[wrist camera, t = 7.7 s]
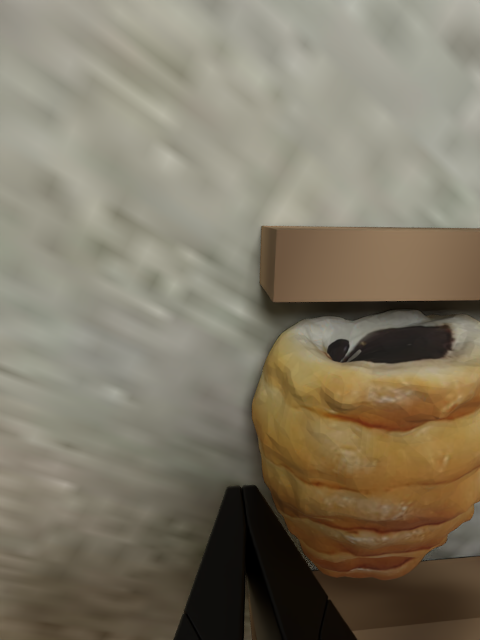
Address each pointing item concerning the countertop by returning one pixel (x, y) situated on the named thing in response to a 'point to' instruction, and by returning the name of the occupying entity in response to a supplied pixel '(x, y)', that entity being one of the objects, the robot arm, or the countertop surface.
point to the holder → (385, 285)
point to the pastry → (372, 436)
